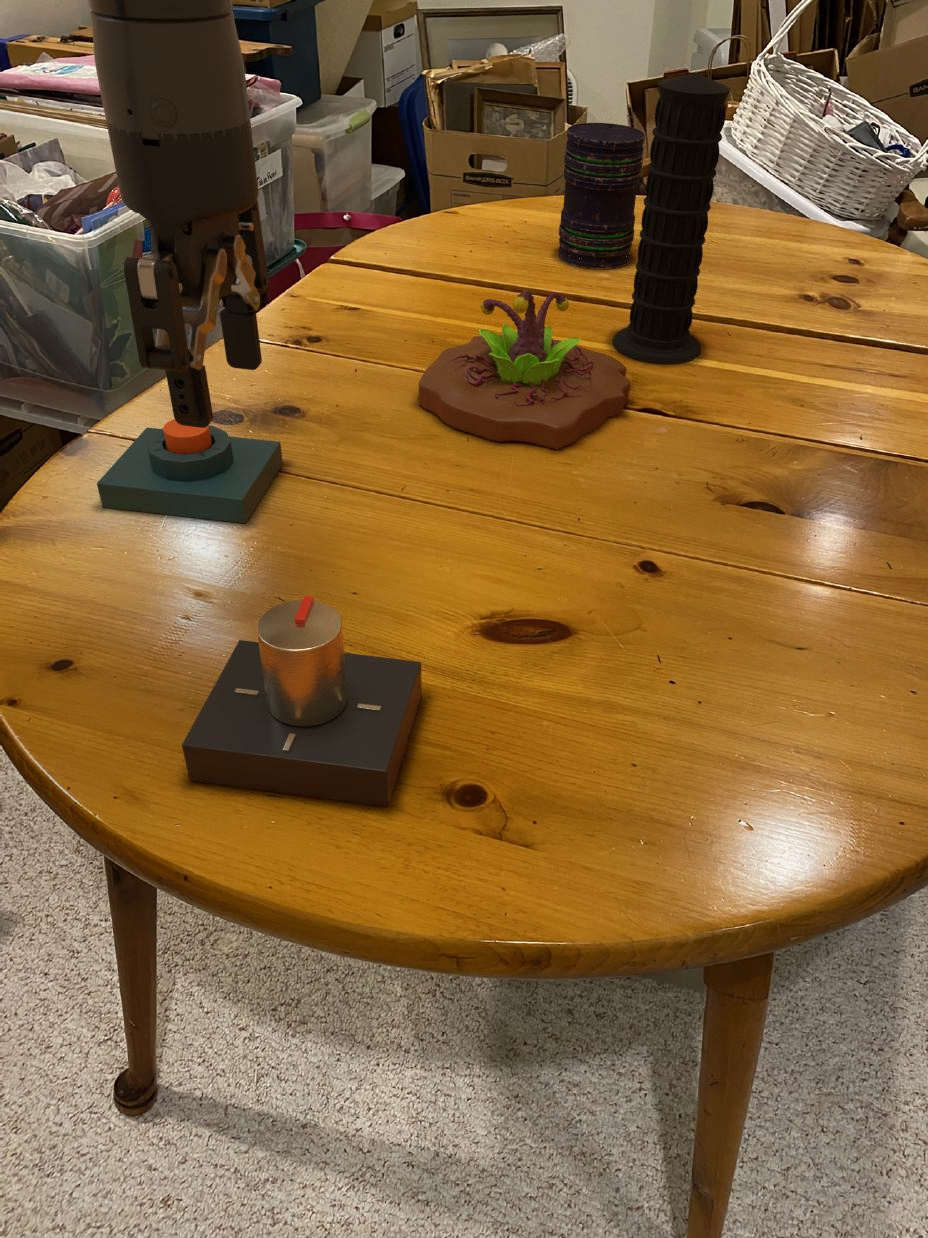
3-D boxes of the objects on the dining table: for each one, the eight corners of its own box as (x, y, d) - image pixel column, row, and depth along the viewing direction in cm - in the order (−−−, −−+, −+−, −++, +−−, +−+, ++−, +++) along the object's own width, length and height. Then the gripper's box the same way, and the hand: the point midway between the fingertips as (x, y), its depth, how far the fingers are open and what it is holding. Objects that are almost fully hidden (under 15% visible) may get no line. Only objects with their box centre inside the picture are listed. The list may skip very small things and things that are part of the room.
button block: (102, 507, 83) (91, 462, 80) (151, 449, 90) (142, 407, 88) (245, 523, 82) (239, 479, 79) (283, 464, 90) (278, 422, 87)
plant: (385, 413, 98) (381, 295, 91) (476, 344, 112) (479, 237, 104) (578, 464, 92) (590, 343, 85) (649, 385, 106) (665, 275, 99)
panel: (189, 781, 61) (180, 742, 58) (244, 674, 68) (238, 637, 66) (388, 807, 60) (386, 769, 58) (421, 696, 67) (421, 659, 65)
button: (159, 454, 83) (155, 434, 82) (176, 433, 85) (173, 414, 84) (202, 458, 82) (199, 439, 81) (218, 438, 85) (215, 418, 84)
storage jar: (624, 273, 131) (639, 145, 122) (550, 263, 133) (559, 136, 123) (636, 249, 139) (650, 127, 129) (565, 240, 140) (574, 119, 130)
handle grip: (616, 361, 110) (708, 365, 110) (649, 81, 93) (758, 87, 93) (608, 326, 118) (694, 329, 118) (638, 60, 100) (738, 66, 101)
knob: (338, 731, 60) (331, 650, 56) (257, 723, 60) (245, 641, 56) (355, 678, 64) (349, 599, 60) (279, 671, 64) (268, 591, 60)
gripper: (166, 79, 61) (208, 345, 71) (45, 135, 50) (115, 438, 61) (288, 89, 60) (312, 356, 71) (191, 148, 49) (236, 453, 60)
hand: (221, 394), depth 66 cm, fingers open, 8 cm apart
